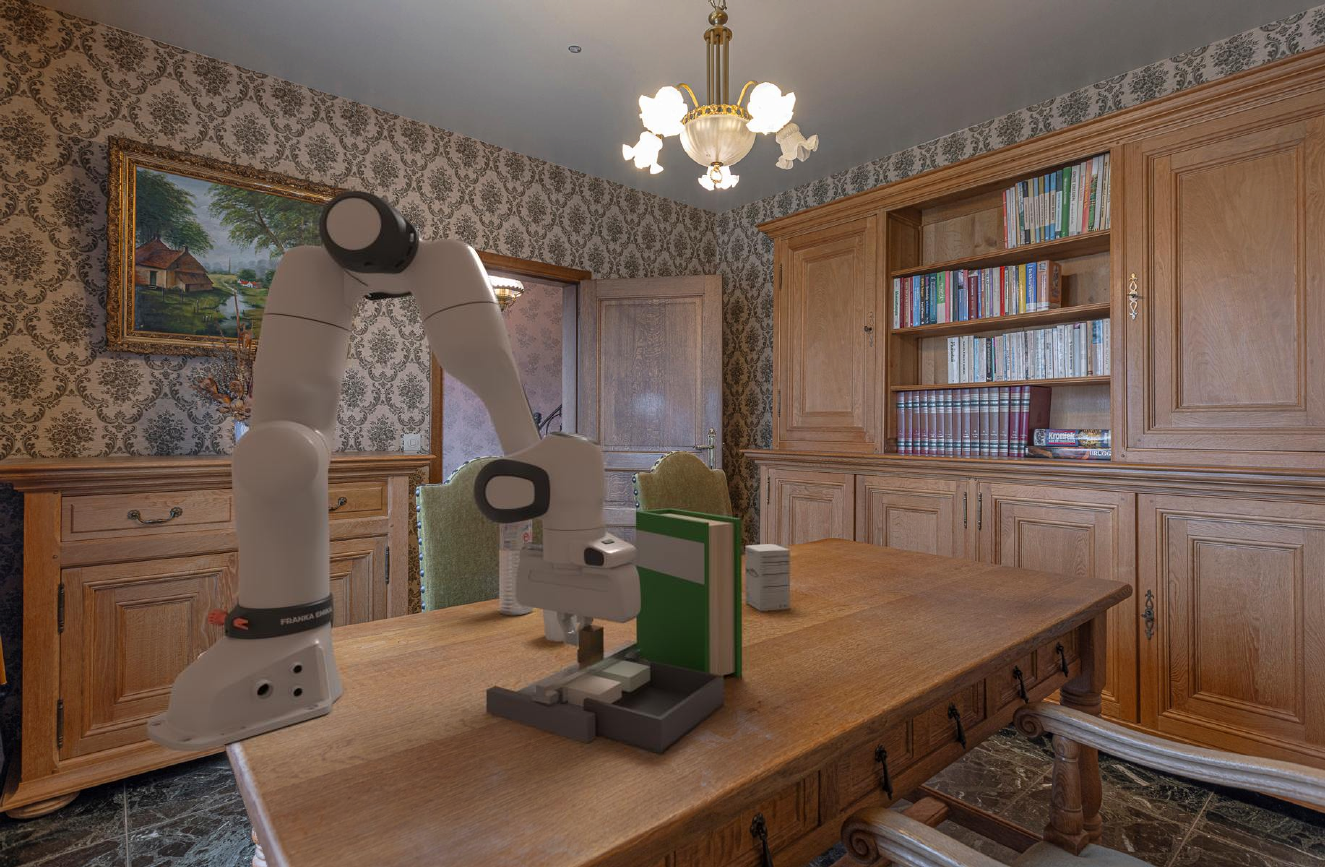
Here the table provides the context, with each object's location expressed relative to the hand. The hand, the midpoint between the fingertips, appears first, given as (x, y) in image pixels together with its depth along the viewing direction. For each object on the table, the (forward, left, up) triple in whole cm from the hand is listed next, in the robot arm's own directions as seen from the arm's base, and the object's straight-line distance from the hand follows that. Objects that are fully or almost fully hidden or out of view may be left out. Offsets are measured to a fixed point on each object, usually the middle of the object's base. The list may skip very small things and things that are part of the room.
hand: (575, 644), depth 93 cm
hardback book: (+19, -7, -8) cm, 21 cm away
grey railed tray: (0, -1, -7) cm, 7 cm away
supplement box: (+59, -4, -8) cm, 59 cm away
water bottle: (+28, +39, -8) cm, 48 cm away
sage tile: (+3, -6, -5) cm, 9 cm away
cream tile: (-4, -6, -5) cm, 9 cm away
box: (0, -13, -7) cm, 15 cm away
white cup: (+20, +20, -8) cm, 29 cm away
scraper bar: (0, -3, -5) cm, 6 cm away
